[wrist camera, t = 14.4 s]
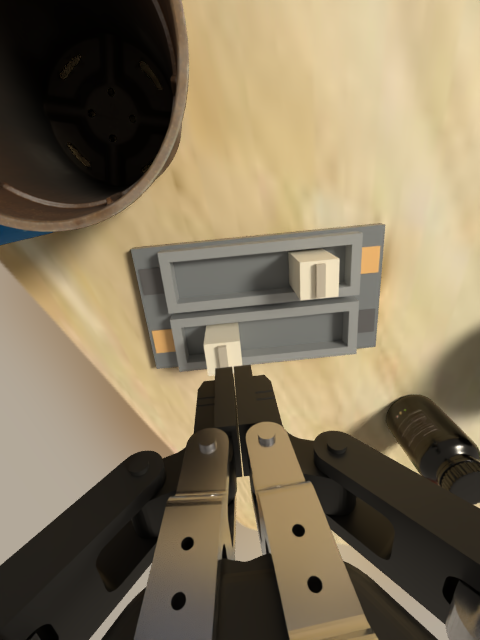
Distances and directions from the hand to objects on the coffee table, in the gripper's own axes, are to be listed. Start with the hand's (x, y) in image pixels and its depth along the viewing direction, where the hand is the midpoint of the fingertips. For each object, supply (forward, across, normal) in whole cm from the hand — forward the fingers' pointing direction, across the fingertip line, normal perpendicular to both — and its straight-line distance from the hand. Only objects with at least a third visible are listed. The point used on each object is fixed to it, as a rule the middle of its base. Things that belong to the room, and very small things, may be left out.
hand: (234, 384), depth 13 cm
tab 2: (+21, -8, +1) cm, 23 cm away
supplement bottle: (+22, -23, +23) cm, 39 cm away
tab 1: (+21, +1, +8) cm, 23 cm away
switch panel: (+22, -4, +5) cm, 23 cm away
